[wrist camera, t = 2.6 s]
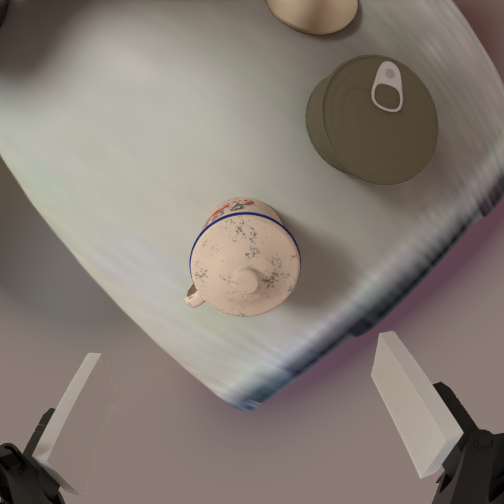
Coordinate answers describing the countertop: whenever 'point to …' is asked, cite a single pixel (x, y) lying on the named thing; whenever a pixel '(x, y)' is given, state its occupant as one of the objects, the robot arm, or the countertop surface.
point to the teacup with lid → (243, 260)
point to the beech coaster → (314, 14)
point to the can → (373, 120)
